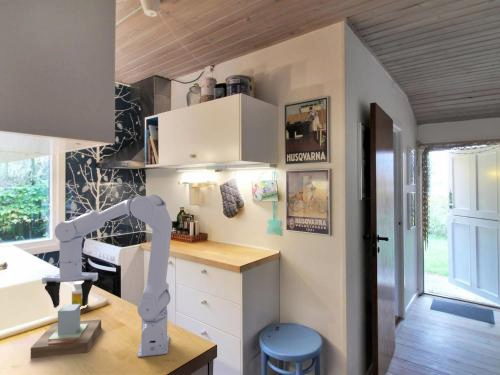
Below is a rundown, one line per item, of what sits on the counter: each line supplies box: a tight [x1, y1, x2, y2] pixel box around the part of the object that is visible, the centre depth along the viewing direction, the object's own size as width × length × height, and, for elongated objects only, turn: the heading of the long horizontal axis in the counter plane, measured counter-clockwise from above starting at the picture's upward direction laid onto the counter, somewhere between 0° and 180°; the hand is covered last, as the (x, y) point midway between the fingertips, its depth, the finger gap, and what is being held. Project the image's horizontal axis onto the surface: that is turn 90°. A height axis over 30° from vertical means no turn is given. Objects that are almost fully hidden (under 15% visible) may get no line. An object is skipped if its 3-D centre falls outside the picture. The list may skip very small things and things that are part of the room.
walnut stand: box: [30, 318, 102, 359], centre depth 88 cm, size 14×14×3 cm
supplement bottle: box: [71, 281, 89, 307], centre depth 111 cm, size 5×5×10 cm
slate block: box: [57, 304, 81, 335], centre depth 88 cm, size 4×4×7 cm
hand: (70, 305), depth 89 cm, fingers open, 7 cm apart
